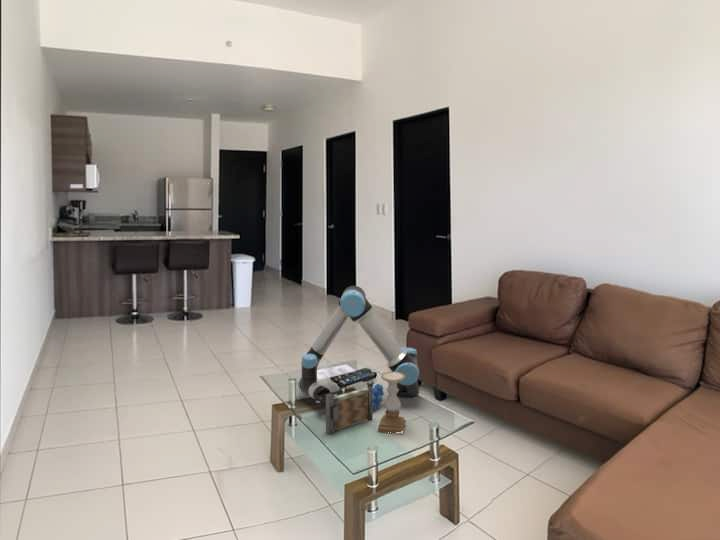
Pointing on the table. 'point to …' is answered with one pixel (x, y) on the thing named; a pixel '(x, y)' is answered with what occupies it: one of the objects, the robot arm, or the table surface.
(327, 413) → the post
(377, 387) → the grapes
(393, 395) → the candle holder
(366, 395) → the gate
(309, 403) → the table surface
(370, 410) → the hinge post
